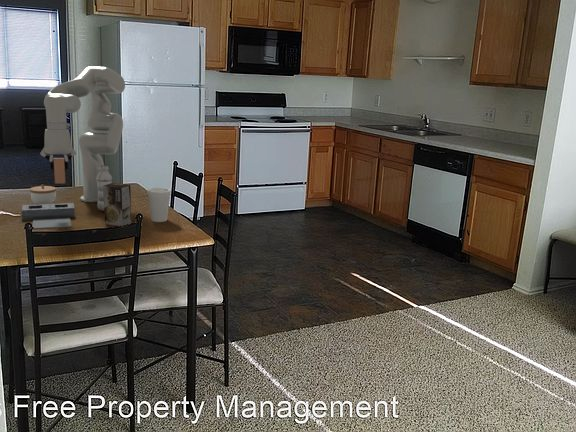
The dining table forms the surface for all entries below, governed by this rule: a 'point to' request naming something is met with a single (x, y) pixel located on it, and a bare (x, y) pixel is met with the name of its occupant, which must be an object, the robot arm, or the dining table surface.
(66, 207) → the socket plate
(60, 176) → the plug
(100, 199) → the plastic bottle
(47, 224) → the mat
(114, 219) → the coffee box
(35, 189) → the lidded jar
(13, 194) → the dining table surface
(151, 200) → the foam cup
